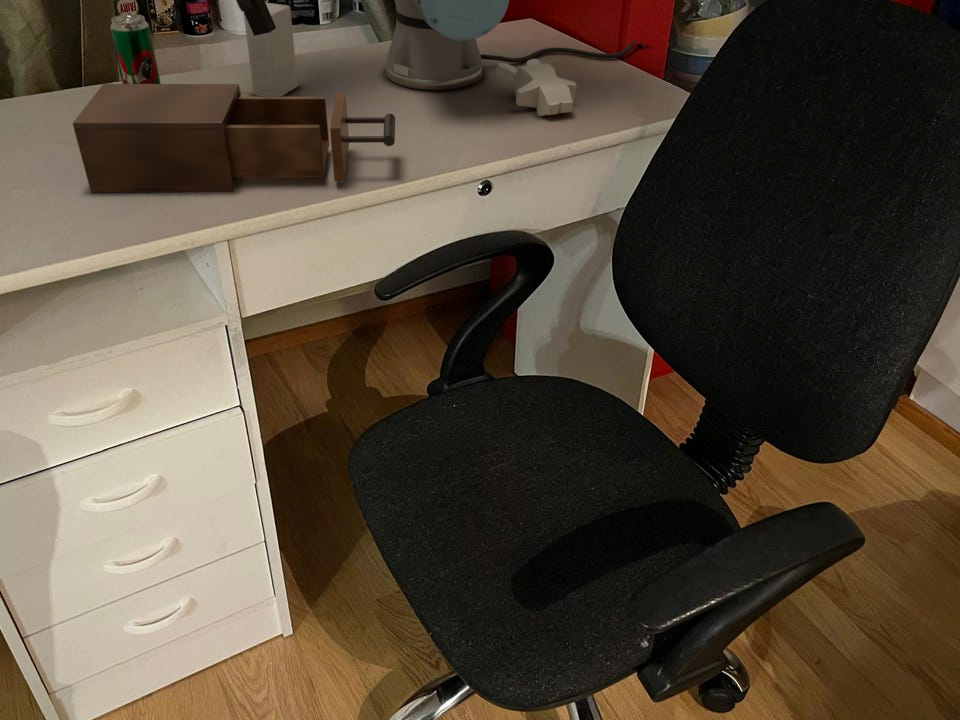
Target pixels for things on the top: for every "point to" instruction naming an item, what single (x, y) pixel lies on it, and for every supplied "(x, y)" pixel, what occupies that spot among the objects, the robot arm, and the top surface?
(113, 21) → the soda can
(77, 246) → the top surface
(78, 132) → the cabinet
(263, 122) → the drawer
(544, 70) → the white blocky figurine
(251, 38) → the cosmetic box
